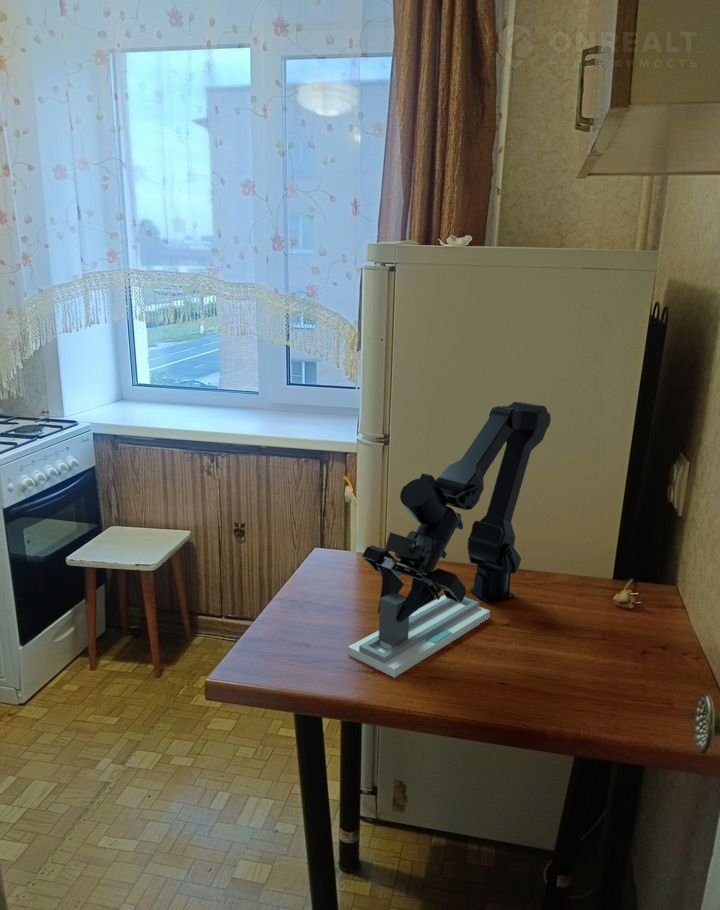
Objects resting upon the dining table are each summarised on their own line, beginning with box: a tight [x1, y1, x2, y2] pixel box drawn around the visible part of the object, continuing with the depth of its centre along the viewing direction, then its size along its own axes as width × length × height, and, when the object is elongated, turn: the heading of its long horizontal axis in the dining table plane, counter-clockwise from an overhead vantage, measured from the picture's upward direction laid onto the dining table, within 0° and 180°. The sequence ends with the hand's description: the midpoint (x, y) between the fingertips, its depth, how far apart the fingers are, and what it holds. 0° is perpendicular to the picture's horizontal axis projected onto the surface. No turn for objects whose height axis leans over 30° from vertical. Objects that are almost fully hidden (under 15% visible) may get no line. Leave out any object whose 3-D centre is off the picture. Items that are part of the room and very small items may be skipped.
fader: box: [378, 592, 409, 650], centre depth 121 cm, size 4×4×8 cm
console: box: [347, 594, 491, 679], centre depth 128 cm, size 28×10×2 cm, turn 138°
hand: (388, 617), depth 120 cm, fingers closed on fader, 3 cm apart
